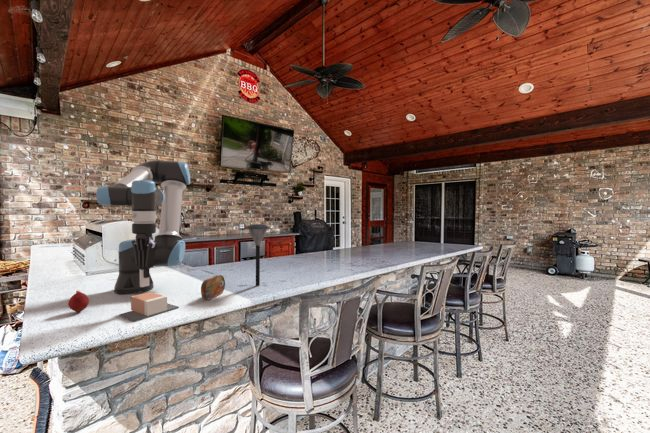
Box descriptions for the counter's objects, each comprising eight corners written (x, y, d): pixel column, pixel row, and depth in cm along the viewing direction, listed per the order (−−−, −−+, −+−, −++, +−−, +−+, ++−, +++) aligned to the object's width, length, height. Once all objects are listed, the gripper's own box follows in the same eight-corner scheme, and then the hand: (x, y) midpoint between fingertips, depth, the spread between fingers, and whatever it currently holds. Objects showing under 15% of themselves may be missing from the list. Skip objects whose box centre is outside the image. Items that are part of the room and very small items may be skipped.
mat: (119, 315, 106) (119, 314, 106) (163, 303, 119) (163, 302, 119) (134, 321, 100) (134, 320, 100) (178, 308, 114) (178, 306, 114)
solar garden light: (259, 290, 139) (259, 225, 138) (239, 286, 145) (239, 224, 144) (275, 284, 150) (275, 224, 149) (256, 281, 156) (256, 223, 154)
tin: (206, 302, 122) (206, 281, 122) (199, 301, 122) (199, 281, 122) (225, 291, 137) (225, 273, 136) (219, 291, 137) (219, 272, 137)
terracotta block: (130, 296, 110) (147, 301, 104) (150, 291, 116) (167, 296, 110) (131, 310, 110) (147, 316, 104) (150, 304, 116) (167, 310, 110)
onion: (89, 308, 112) (88, 287, 112) (89, 313, 108) (88, 291, 108) (68, 311, 109) (68, 290, 108) (68, 316, 104) (67, 293, 104)
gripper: (123, 222, 111) (124, 285, 112) (143, 223, 104) (143, 291, 105) (144, 221, 117) (145, 281, 118) (164, 222, 110) (164, 286, 111)
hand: (144, 286), depth 111 cm, fingers closed
